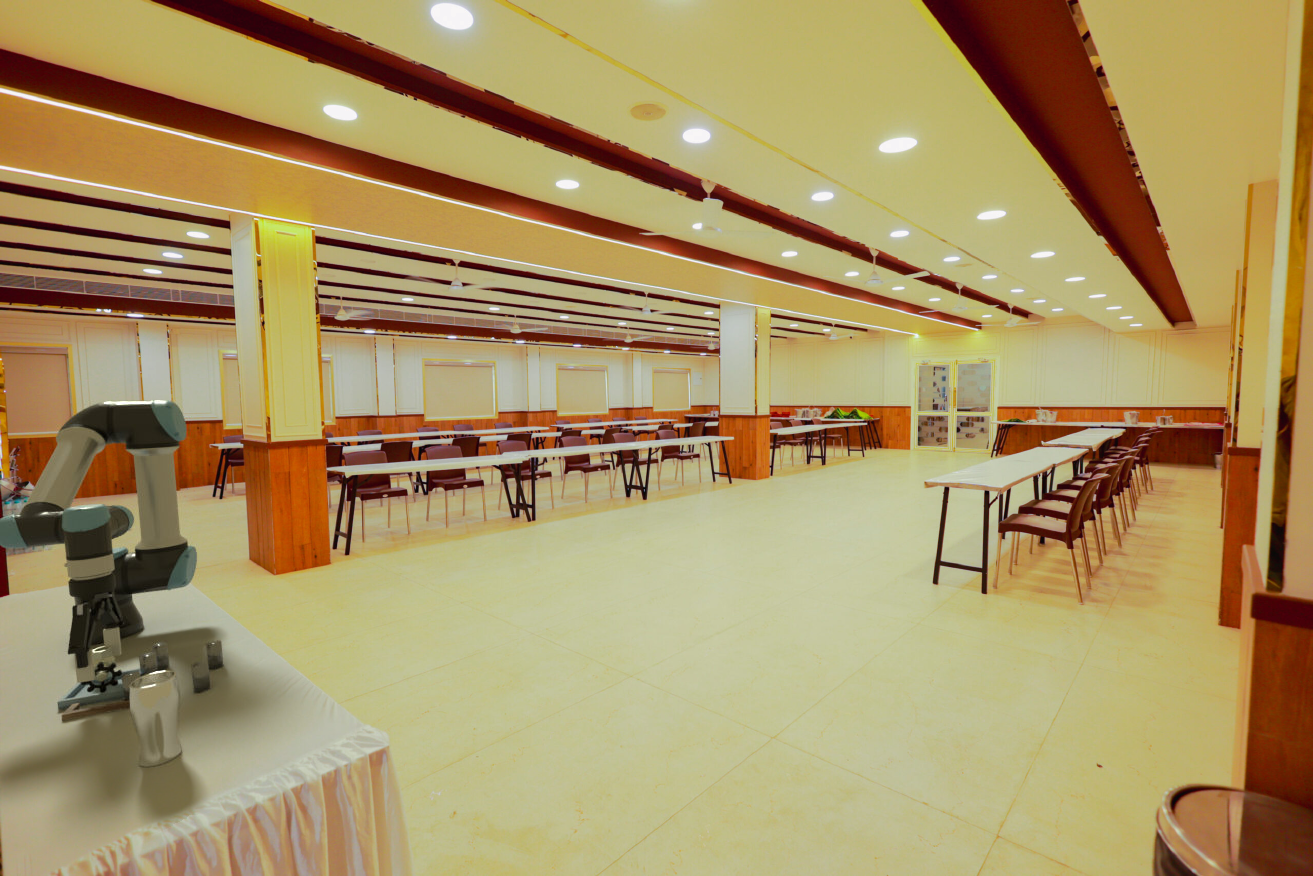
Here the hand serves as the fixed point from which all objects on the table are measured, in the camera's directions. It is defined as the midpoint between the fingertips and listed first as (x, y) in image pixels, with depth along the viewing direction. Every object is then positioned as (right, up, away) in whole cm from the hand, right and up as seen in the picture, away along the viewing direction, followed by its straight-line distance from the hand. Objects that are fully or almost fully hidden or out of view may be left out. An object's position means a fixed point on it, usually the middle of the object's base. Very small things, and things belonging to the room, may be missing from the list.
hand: (100, 668), depth 133 cm
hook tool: (+7, -6, -6) cm, 11 cm away
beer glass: (+33, -8, -23) cm, 41 cm away
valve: (-1, -4, +1) cm, 4 cm away
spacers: (+13, -5, +6) cm, 15 cm away
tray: (0, -6, +1) cm, 6 cm away
